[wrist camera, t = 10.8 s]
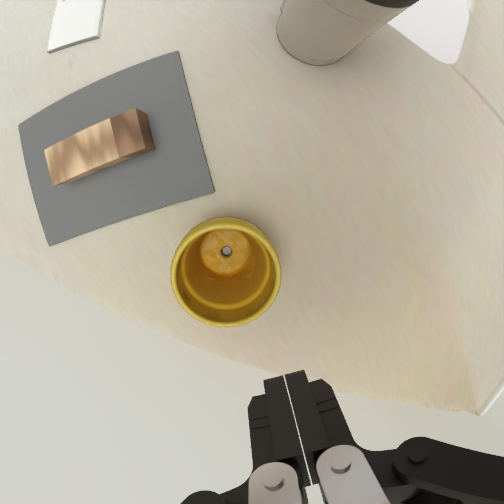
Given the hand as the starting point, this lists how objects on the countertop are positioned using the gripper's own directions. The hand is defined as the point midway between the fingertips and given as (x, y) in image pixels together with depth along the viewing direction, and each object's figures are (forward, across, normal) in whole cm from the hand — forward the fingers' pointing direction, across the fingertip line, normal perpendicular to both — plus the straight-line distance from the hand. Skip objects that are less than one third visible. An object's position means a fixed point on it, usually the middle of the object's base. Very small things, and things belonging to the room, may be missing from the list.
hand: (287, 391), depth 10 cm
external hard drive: (+28, +14, -37) cm, 48 cm away
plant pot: (+27, +3, +2) cm, 27 cm away
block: (+24, +20, -14) cm, 34 cm away
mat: (+27, +14, -14) cm, 34 cm away
